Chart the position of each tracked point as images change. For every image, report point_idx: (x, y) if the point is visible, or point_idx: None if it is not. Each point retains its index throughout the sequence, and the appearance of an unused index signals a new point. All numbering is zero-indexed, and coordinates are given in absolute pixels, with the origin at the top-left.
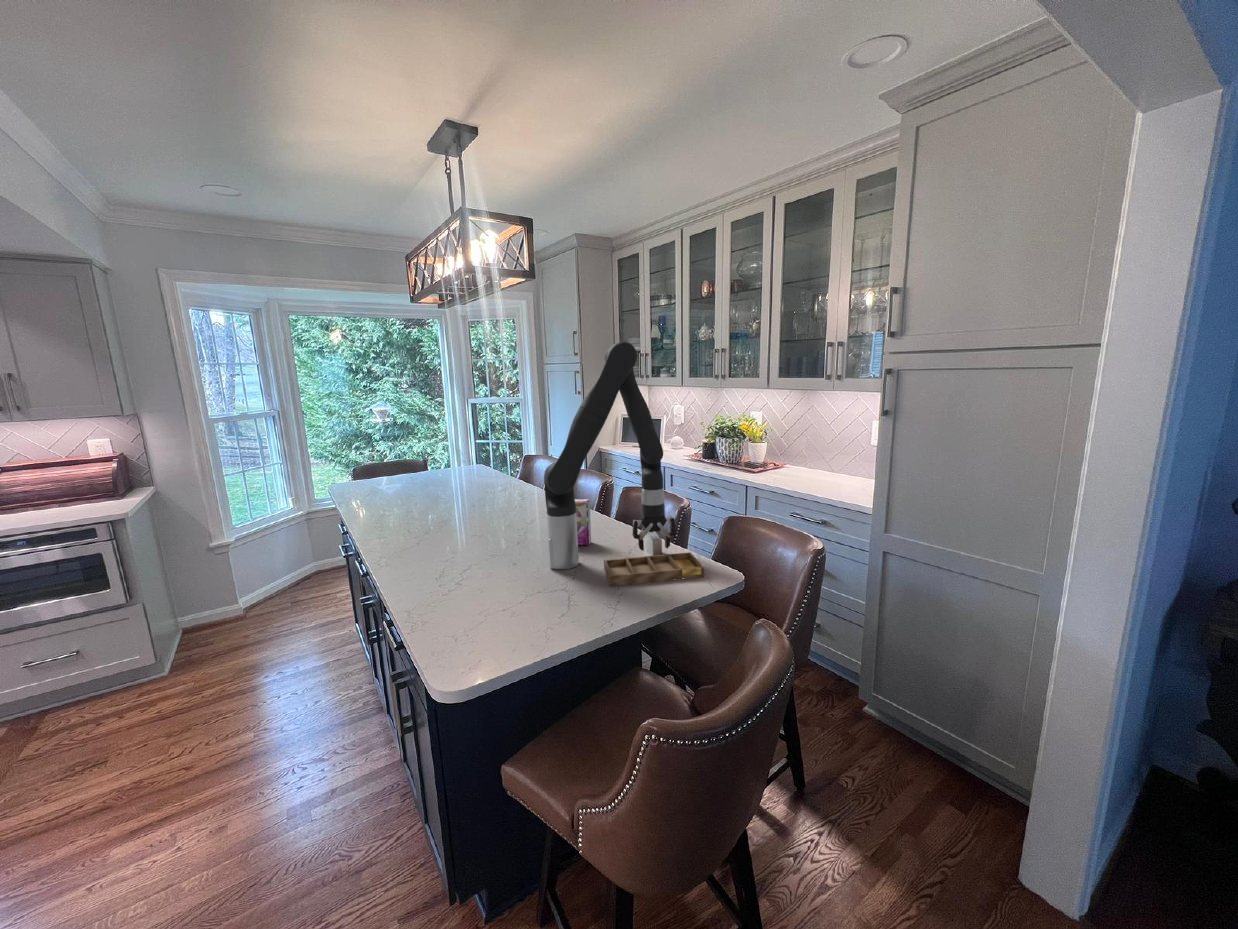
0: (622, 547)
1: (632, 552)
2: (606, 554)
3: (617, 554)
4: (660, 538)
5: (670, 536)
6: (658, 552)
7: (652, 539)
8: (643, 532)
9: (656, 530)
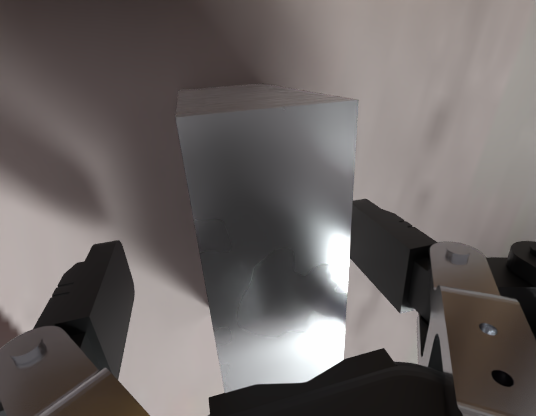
0: (395, 348)
1: (367, 278)
2: (503, 252)
3: None
4: (194, 211)
5: (4, 361)
6: (221, 93)
7: (343, 172)
8: (517, 306)
9: (274, 405)
